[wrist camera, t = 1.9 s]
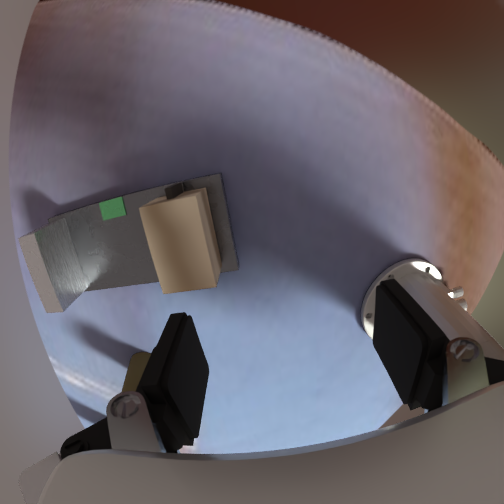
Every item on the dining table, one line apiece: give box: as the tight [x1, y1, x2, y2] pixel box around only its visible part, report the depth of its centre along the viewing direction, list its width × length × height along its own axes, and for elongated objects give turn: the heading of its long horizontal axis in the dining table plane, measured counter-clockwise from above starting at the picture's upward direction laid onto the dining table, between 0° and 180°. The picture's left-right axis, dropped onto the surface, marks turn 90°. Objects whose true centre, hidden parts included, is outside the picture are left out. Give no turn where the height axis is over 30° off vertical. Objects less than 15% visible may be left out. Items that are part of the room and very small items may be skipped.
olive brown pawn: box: [121, 352, 151, 393], centre depth 31 cm, size 6×6×11 cm
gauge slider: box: [139, 182, 222, 294], centre depth 25 cm, size 5×9×5 cm, turn 9°
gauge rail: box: [18, 173, 239, 313], centre depth 26 cm, size 22×10×8 cm, turn 99°
